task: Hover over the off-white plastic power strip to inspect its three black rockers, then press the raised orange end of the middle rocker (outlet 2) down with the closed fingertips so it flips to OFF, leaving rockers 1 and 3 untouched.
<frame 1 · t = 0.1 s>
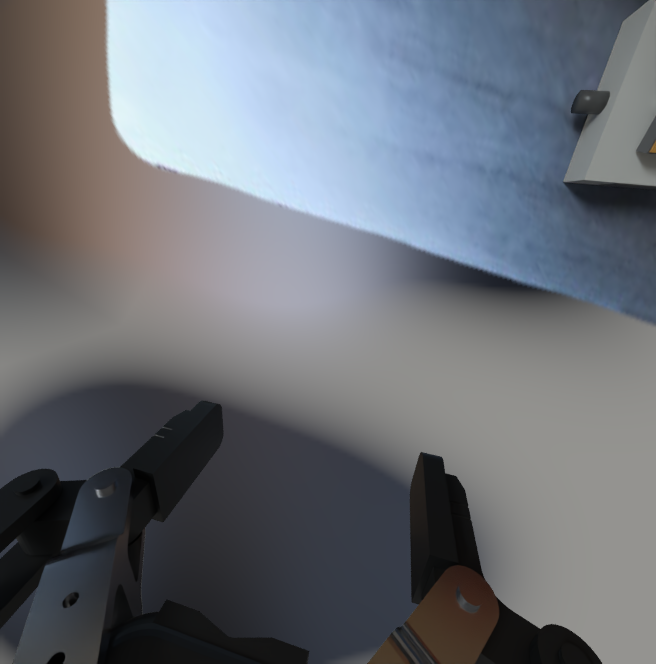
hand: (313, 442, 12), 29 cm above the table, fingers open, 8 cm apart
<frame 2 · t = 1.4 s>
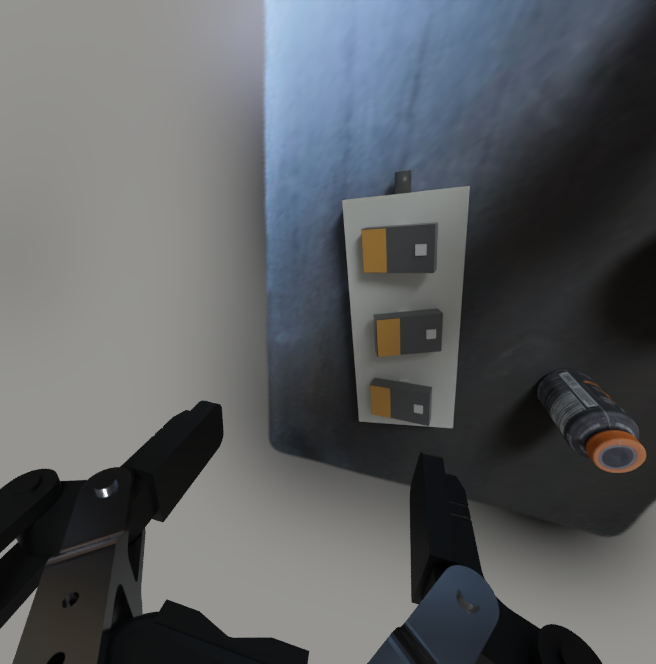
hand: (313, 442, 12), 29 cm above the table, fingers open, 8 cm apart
power strip: (403, 314, 39), on the table
pill bottle: (562, 387, 38), on the table
rocker 2: (407, 333, 33), point 6 cm above the table, hinge at -13.0°
rocker 3: (400, 401, 37), point 6 cm above the table, hinge at 13.0°
rocker 1: (398, 249, 30), point 6 cm above the table, hinge at 13.0°
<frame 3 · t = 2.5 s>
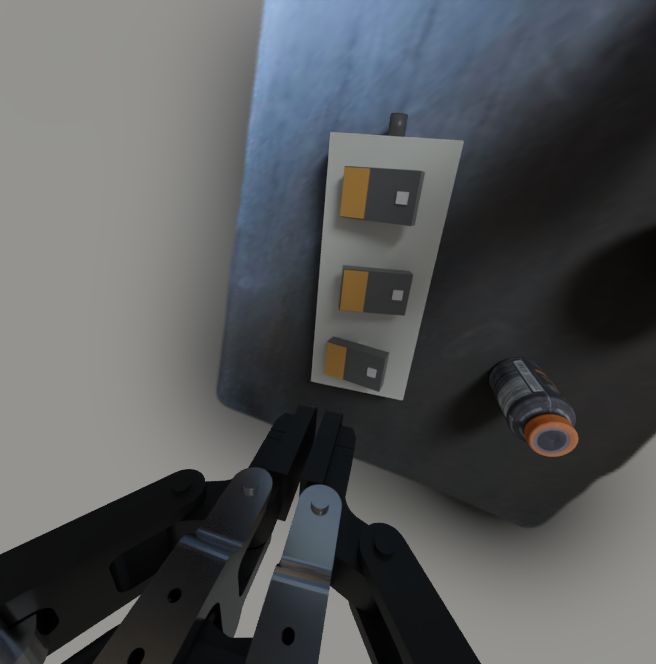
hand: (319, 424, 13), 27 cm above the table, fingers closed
power strip: (374, 277, 37), on the table
pill bottle: (513, 376, 38), on the table
rocker 2: (374, 290, 32), point 6 cm above the table, hinge at -13.0°
rocker 3: (355, 363, 36), point 6 cm above the table, hinge at 13.0°
rocker 1: (379, 195, 28), point 6 cm above the table, hinge at 13.0°
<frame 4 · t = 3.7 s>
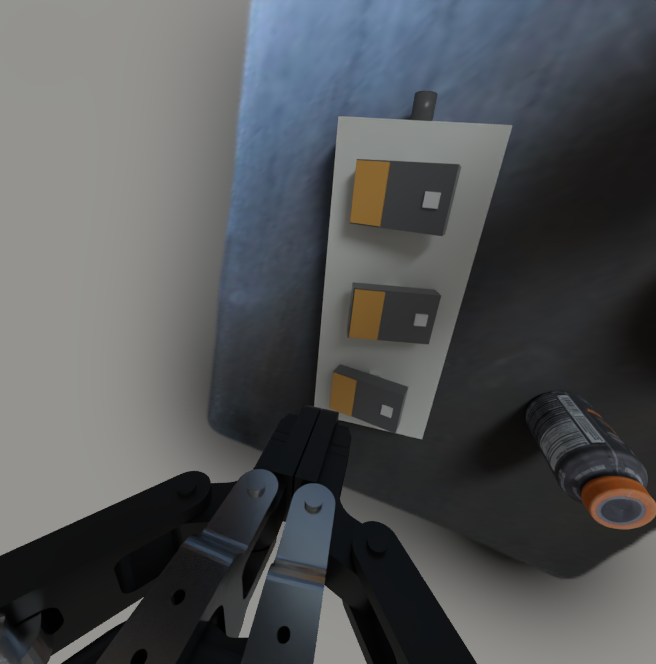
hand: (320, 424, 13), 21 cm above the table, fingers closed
power strip: (390, 293, 31), on the table
pill bottle: (555, 411, 32), on the table
rocker 2: (391, 314, 26), point 6 cm above the table, hinge at -13.0°
rocker 3: (366, 398, 30), point 6 cm above the table, hinge at 13.0°
rocker 1: (401, 197, 22), point 6 cm above the table, hinge at 13.0°
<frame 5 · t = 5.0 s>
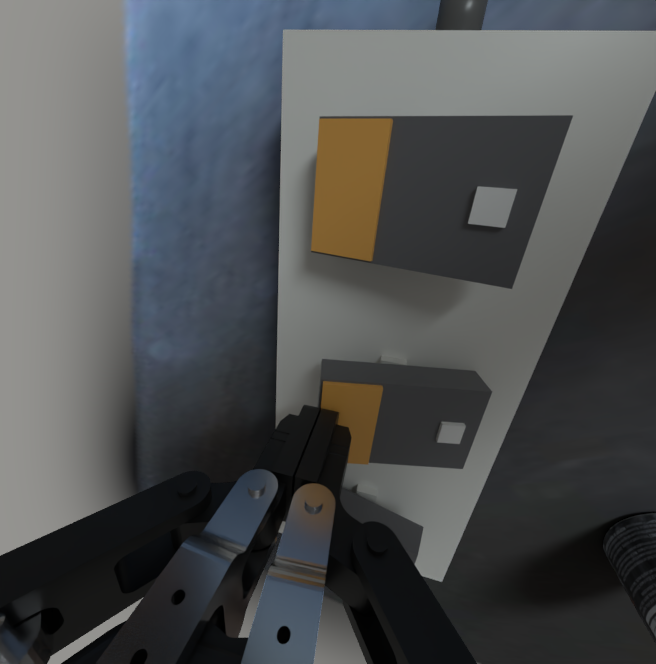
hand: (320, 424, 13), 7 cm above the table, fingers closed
power strip: (390, 355, 19), on the table
pill bottle: (651, 538, 20), on the table
rocker 2: (394, 416, 14), point 6 cm above the table, hinge at -12.9°, touching gripper
rocker 3: (352, 534, 18), point 6 cm above the table, hinge at 13.0°
rocker 1: (416, 199, 10), point 6 cm above the table, hinge at 13.0°
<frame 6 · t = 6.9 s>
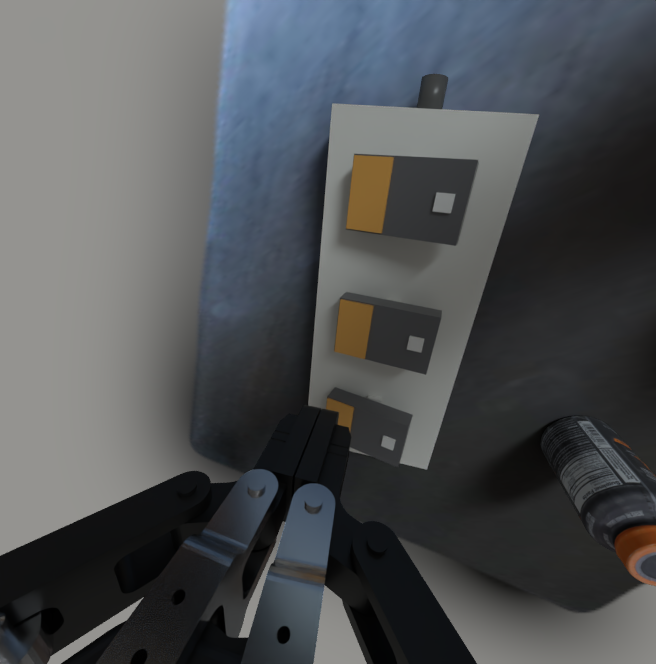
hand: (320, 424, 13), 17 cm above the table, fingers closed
power strip: (390, 307, 28), on the table
pill bottle: (573, 437, 29), on the table
rocker 2: (384, 332, 22), point 6 cm above the table, hinge at 7.3°
rocker 3: (364, 426, 26), point 6 cm above the table, hinge at 13.0°
rocker 1: (406, 199, 19), point 6 cm above the table, hinge at 13.0°
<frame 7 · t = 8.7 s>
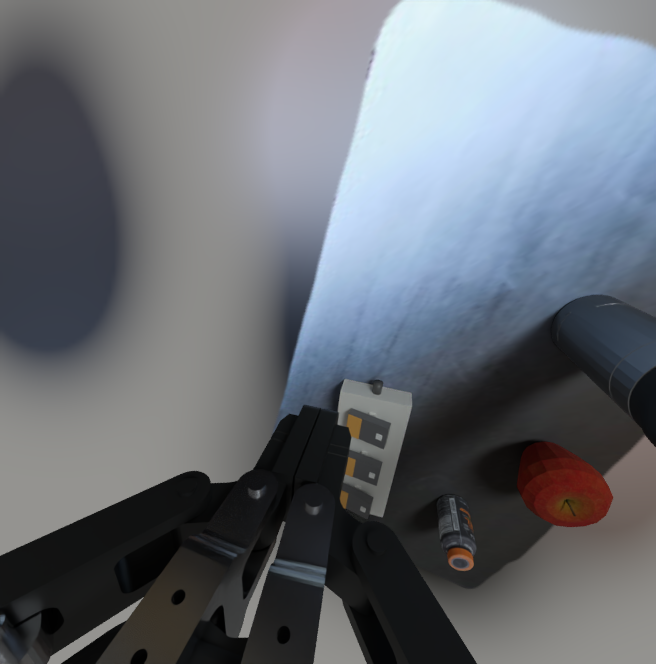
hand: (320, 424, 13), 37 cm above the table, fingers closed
power strip: (365, 444, 60), on the table
pill bottle: (451, 503, 62), on the table
rocker 2: (360, 467, 55), point 6 cm above the table, hinge at 8.3°
rocker 3: (353, 500, 59), point 6 cm above the table, hinge at 13.0°
rocker 1: (367, 428, 51), point 6 cm above the table, hinge at 13.0°
apple: (539, 449, 52), on the table
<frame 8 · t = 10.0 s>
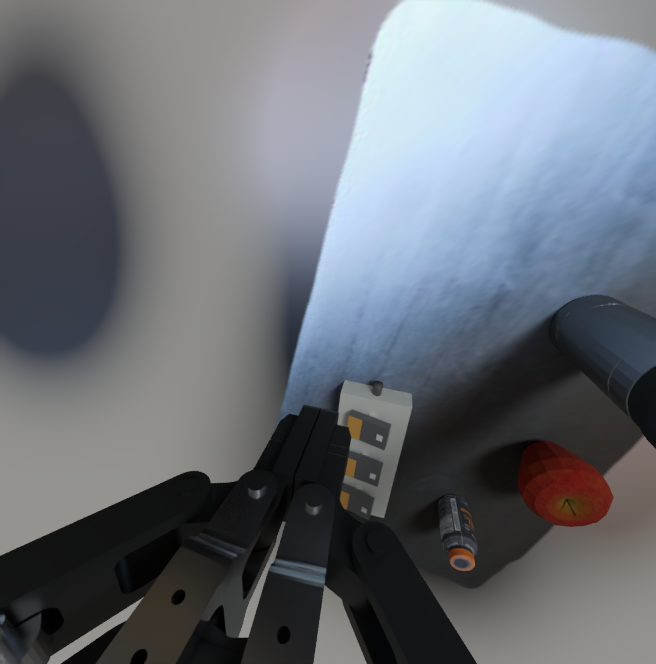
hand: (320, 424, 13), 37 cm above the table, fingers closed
power strip: (366, 445, 61), on the table
pill bottle: (452, 503, 62), on the table
rocker 2: (361, 468, 55), point 6 cm above the table, hinge at 8.4°
rocker 3: (354, 501, 59), point 6 cm above the table, hinge at 13.0°
rocker 1: (367, 429, 52), point 6 cm above the table, hinge at 13.0°
apple: (540, 449, 53), on the table
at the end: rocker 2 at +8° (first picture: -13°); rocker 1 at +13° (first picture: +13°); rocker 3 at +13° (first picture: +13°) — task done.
